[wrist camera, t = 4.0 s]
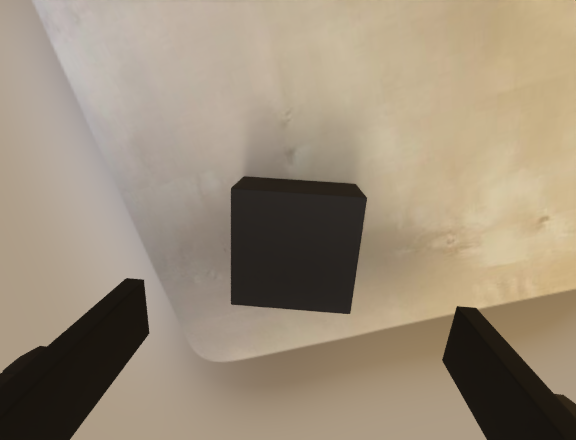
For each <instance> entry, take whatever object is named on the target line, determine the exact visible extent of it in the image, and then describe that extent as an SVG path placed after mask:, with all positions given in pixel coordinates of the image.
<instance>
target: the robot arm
mask: <svg viewBox="0 0 576 440" xmlns="http://www.w3.org/2000/svg"><path fill="white" fill-rule="evenodd" d="M148 334H149V325H148V316H147V306H146V296H145V287H144V280H141V279H129V278H127V279H125V280H124V281H123V282H121V283H120V284H119V285H118V286H117V287H116V288H114V289H113V290H112V291H111V292H110V293H109V294H107V295H106V296H105V297H104V298H103V299H102V300H101V301H99V302H98V303H97V304H96V305H95V306H94V307H93V308H91V309H90V310H89V311H88V312H87V313H85V314H84V315H83V316H82V317H81V318H80V319H79V320H77V321H76V322H75V323H74V324H73V325H72V326H70V327H69V328H68V329H67V330H66V331H65V332H63V333H62V334H61V335H60V336H59V337H58V338H56V339H55V340H54V341H53V342H52V343H51V344H50V345H49V346H47V347H44V346H39V347H37V348H35V349H33V350H31V351H30V352H28V353H26V354H24V355H22V356H20V357H19V358H18V359H16V360H15V361H14V362H13V363H12V364H10V365H9V366H8V367H7V368H5V369H4V370H3V372H2V373H1V374H0V440H70V439H71V437H72V436H73V435H74V433H75V432H76V431H77V429H78V428H79V427H80V425H81V424H82V423H83V421H84V420H85V418H86V417H87V416H88V414H89V413H90V412H91V411H92V409H93V408H94V407H95V405H96V404H97V403H98V401H99V400H100V399H101V397H102V396H103V394H104V393H105V392H106V390H107V389H108V388H109V387H110V385H111V384H112V382H113V381H114V380H115V379H116V377H117V376H118V374H119V373H120V372H121V370H122V369H123V368H124V366H125V365H126V363H127V362H128V361H129V360H130V358H131V357H132V356H133V354H134V353H135V352H136V350H137V349H138V348H139V346H140V345H141V344H142V342H143V341H144V340H145V338H146V337H147V336H148ZM442 360H443V363H444V364H445V366H446V368H447V370H448V371H449V373H450V375H451V377H452V379H453V380H454V382H455V384H456V385H457V387H458V389H459V391H460V392H461V394H462V396H463V398H464V400H465V401H466V403H467V405H468V407H469V409H470V410H471V412H472V414H473V416H474V417H475V419H476V421H477V423H478V425H479V426H480V428H481V430H482V431H483V433H484V435H485V437H486V439H487V440H576V404H575V403H574V402H572V401H571V400H570V399H568V398H567V397H565V396H564V395H559V394H554V393H553V392H552V391H551V390H550V389H549V388H548V387H547V386H546V385H545V384H544V383H543V381H542V380H541V379H540V378H539V377H538V376H537V375H536V374H535V372H533V370H532V369H531V368H530V367H529V366H528V365H527V364H526V363H525V361H523V359H522V358H521V357H520V356H519V355H518V354H517V353H516V352H515V350H514V349H513V348H512V347H511V346H510V345H509V344H508V343H507V342H506V340H505V339H504V338H503V337H502V336H501V335H500V334H499V333H498V332H497V331H496V329H495V328H494V327H493V326H492V325H491V324H490V323H489V322H488V321H487V320H486V319H485V317H484V316H483V315H482V314H481V313H480V312H479V311H478V310H477V308H471V307H459V306H457V308H456V312H455V315H454V319H453V323H452V327H451V330H450V334H449V337H448V341H447V345H446V348H445V352H444V356H443V359H442Z"/></svg>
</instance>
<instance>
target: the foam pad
mask: <svg viewBox="0 0 576 440" xmlns="http://www.w3.org/2000/svg"><path fill="white" fill-rule="evenodd" d="M366 202H367V197H366V196H365V195H364V194H363V192H362V191H361V190H360V189H359V188H358V186H357V185H356V184H346V183H332V182H317V181H302V180H288V179H273V178H259V177H243V178H242V179H241V180H240V181H239V182H238V183H237V184H235V185H234V186H233V187H232V188H231V304H232V305H244V306H256V307H269V308H281V309H293V310H306V311H318V312H330V313H343V314H350V311H351V304H352V297H353V291H354V284H355V277H356V270H357V263H358V256H359V250H360V243H361V236H362V229H363V222H364V215H365V208H366Z"/></svg>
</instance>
